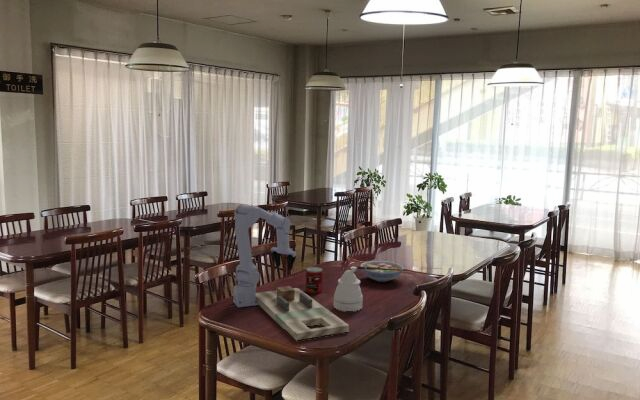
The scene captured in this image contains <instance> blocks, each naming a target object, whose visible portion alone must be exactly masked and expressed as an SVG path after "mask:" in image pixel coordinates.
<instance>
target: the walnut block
mask: <svg viewBox="0 0 640 400" xmlns="http://www.w3.org/2000/svg"><path fill="white" fill-rule="evenodd" d="M276 290H277V296H282V297H283V298H284V299H285V300H287V301H289V300H295V290H294V289H293V287H292V286H290V285H287V286H279V287H276Z"/></svg>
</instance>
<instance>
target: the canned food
mask: <svg viewBox="0 0 640 400" xmlns="http://www.w3.org/2000/svg"><path fill="white" fill-rule="evenodd" d="M305 270H306V271H305V275H306V276H305V291H306V293H308V294H319V293H321V292H322V291H323V268H322V267H318V266H317V267H316V266H312V267H311V266H309V267H307V268H306V269H305Z"/></svg>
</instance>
